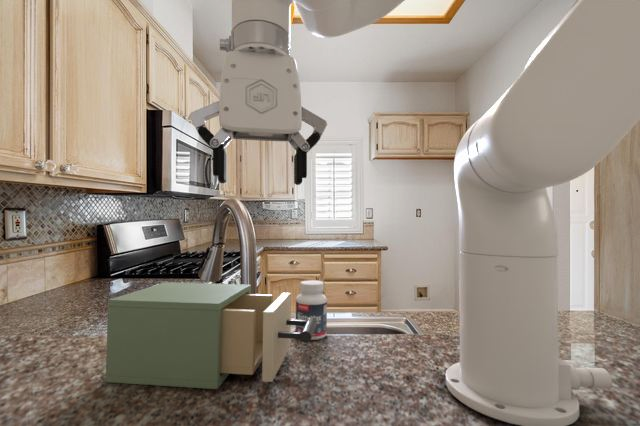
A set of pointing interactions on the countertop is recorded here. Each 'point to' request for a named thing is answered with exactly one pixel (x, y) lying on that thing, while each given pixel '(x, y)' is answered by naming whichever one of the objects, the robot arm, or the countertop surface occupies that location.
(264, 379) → the drawer
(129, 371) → the cabinet
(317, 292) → the pill bottle
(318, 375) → the countertop surface
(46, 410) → the countertop surface
